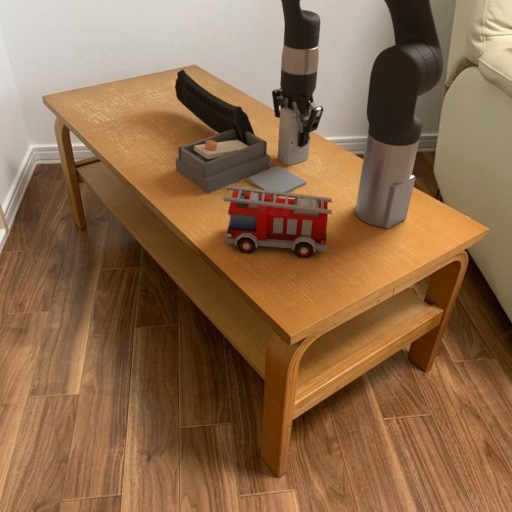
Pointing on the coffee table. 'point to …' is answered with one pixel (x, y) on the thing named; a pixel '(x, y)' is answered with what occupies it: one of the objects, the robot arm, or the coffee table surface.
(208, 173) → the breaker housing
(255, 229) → the toy fire truck
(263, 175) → the slate mat
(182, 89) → the magazine
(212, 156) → the white block with knob
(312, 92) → the robot arm
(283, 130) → the skincare box
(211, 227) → the coffee table surface
